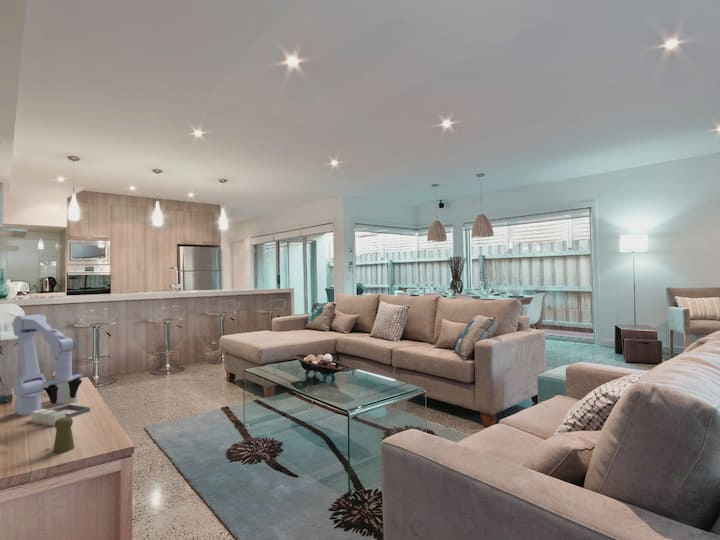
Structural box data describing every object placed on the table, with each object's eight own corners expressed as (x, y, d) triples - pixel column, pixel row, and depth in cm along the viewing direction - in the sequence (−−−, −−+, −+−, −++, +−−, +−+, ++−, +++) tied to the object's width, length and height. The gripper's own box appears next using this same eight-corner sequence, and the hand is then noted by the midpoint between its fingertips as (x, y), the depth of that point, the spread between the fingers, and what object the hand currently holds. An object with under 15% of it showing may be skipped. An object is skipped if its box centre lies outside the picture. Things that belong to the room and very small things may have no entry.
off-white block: (48, 424, 159) (48, 414, 159) (58, 421, 163) (58, 411, 163) (55, 425, 158) (55, 415, 158) (65, 422, 162) (65, 412, 162)
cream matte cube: (31, 421, 163) (31, 411, 163) (42, 418, 167) (42, 408, 167) (38, 422, 161) (38, 412, 161) (48, 419, 165) (48, 409, 165)
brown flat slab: (23, 425, 162) (23, 422, 162) (42, 419, 169) (42, 416, 169) (51, 431, 157) (51, 427, 157) (69, 424, 163) (69, 421, 163)
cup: (67, 407, 184) (67, 381, 184) (52, 406, 185) (52, 380, 185) (82, 402, 192) (82, 377, 192) (68, 401, 193) (68, 376, 193)
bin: (47, 418, 171) (47, 411, 171) (69, 410, 179) (69, 404, 179) (68, 421, 166) (68, 414, 166) (90, 414, 175) (90, 407, 175)
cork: (60, 445, 143) (60, 415, 143) (78, 445, 144) (78, 414, 144) (48, 453, 137) (48, 421, 137) (67, 452, 138) (67, 421, 138)
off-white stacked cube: (39, 423, 161) (39, 413, 161) (50, 419, 165) (50, 410, 165) (46, 424, 160) (46, 414, 160) (57, 420, 164) (57, 411, 164)
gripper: (51, 372, 156) (51, 407, 156) (87, 364, 170) (87, 396, 170) (39, 371, 158) (39, 405, 158) (75, 363, 172) (75, 394, 172)
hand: (63, 400), depth 164 cm, fingers open, 7 cm apart
